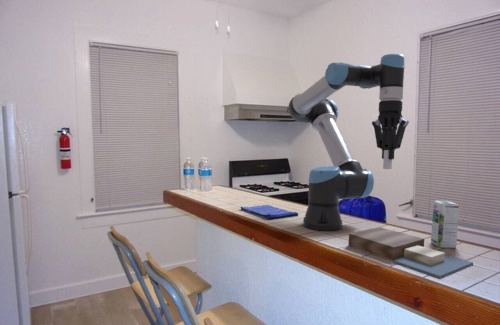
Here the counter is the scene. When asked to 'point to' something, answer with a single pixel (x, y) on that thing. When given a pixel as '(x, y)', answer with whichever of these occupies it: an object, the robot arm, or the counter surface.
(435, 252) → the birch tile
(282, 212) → the dish towel
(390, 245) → the plate
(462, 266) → the slate mat
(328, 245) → the counter surface
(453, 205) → the syrup box
